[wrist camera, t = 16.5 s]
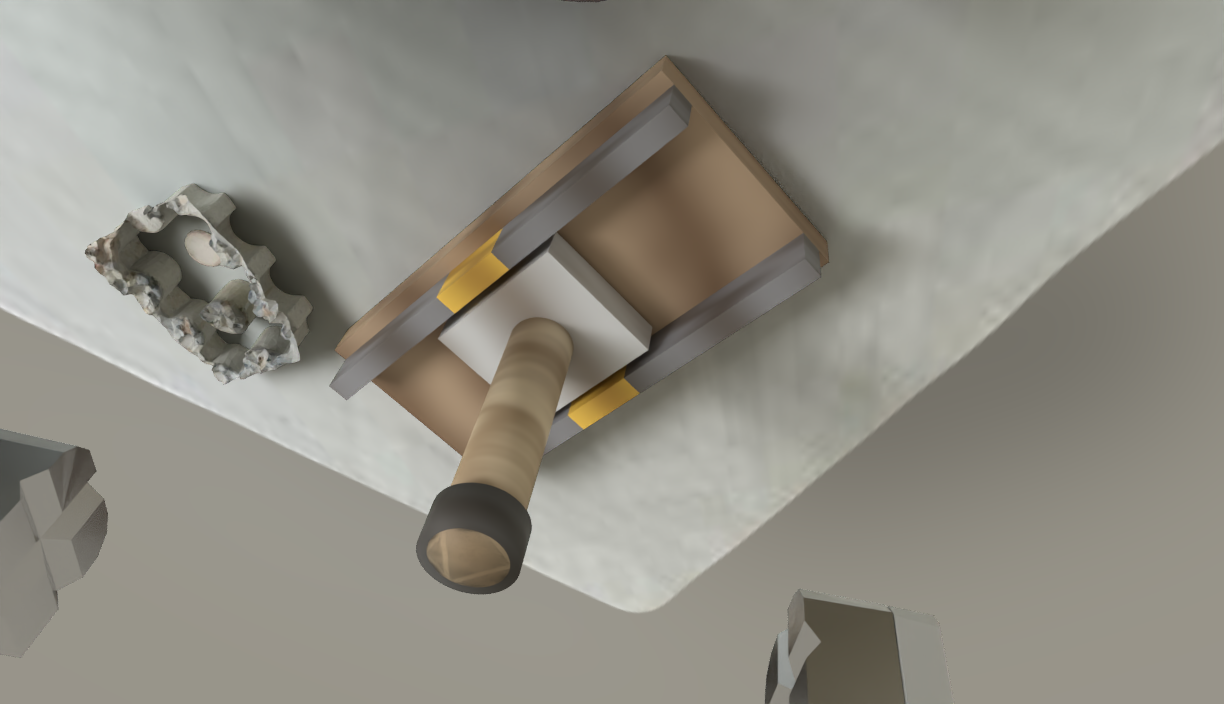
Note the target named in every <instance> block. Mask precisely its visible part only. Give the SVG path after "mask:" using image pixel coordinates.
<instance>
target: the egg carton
mask: <svg viewBox="0 0 1224 704" xmlns="http://www.w3.org/2000/svg"><path fill="white" fill-rule="evenodd" d="M235 209H236V207H235V205H234V204H233V202H232V201H231V200H230V198H229V197H228V196H227V195H226V194H225V193H218V194H214V193H209V192H206V191H204V190H202V189H201V188H199V187H198V186H197V185H196V184H189V185H187V186H183V187H181V188H180V189H179V190H178V191H177V192H175V193H174V194H173V195H172V196H171V197H170V198H168V199H167V200H166V201H165V202H163V203H160V204H158V205H156V206H155V207H153V208H151V207H150V206H149V205H147V206H144V207H142V208H140V209H137V210H134V211H132V212H130V213H129V214H128V215H127V218H126V220H125V221H124V222H123V223H122V224H121V225H119V226H117V227H116V228H115V230H114V231H115V232H113V233H111V234H109V235H107V236H105V237H102V238H100V239H98V240H97V241H95V242H93V243H92V244H90V245H89V246H88V247H87V249H86V250H85V254H86V255H87V258H89V259H90V260H92V261H93V262H94V263H95V269H96V270H97V271H98V272H99V273H100V274H102V275H103V276H105V277H106V279H107V280H108V282H109V284H110V285H112V286H114V287H115V288H116V289H117V290H119V291H120V292H121V293H122V294H123V295H128V294H132V295H134V296H135V298H136V299H137V301H138V302H139V303H140V305H141V306H142V308H143V310H144V311H145V312H146V313H147V314H149V315H153V316H154V317H155V318H156V319H157V320H158V321H159V322H160V323H161V324H162V325H163V326H164V327H165V328H167V330H168V332H169V333H170V335H171V336H172V338H173V339H174V340H175V341H176V342H178V343H179V344H180V345H182V346H183V347H184V348H185V349H187V350H188V351H189V352H191V353H193V354H194V355H196V356H198V357H199V359H200V360H201V361H202V362H204V363H206V364H210V365H212V366H213V368H212V371H213V373H214V376H215V377H216V378H217V379H218V381H221V382H223V385H224V384H227V383H229V382H230V381H232V380H233V379H236V378H239V377H240V379H246V378H247V377H249V376H251V375H254V374H256V373H260V374H261V373H263V372H266V371H269V370H276V369H277V368H279V367H281V366H283V365H284V364H286V363H294V362H297V361H300V355H299V351H298V346H299V345H300V344H301V342H302V341H303V339H304V337H305V336H306V335H307V334H308V333H309V329H308V326H307V322H306V318H307V316H308V315H309V314H310V313H311V311H312V310H313V307H312V305H311V304H310V302H309V301H308V300H307V299H306V297H305V296H304V295H290V294H287V293H284V292H282V291H281V290H279V289H278V288H277V287H276V286H275V285H274V283H273V282H272V280H271V278H270V274H269V272H270V267H271V266H272V265H273V263H274V262H275V261H276V258H275V257H274V256H273V254H272V253H271V252H270V250H269V249H268V248H267V247H266V246H265V245H256V246H255V245H250V244H247V243H245V242H243V241H242V240H241V239H239V238H238V237H237V236H236V235H235V234H234V232H233V231H232V228H231V226H230V215H231V213H232V212H233V211H234V210H235ZM178 214H179V215H188V216H197V217H199V218H201V219H203V220H204V221H205V222H206V223H207V224H208V225H209V228H210V231H211V233H212V234H210V233H208V232H206V231H202V230H193V231H191V232H189V233H188V234H187V237H186V238H185V241H184V242H185V248H186V250H187V251H188V253H189V255H190V256H191V257H192V258H193V259H194V260H195V261H197V262H198V263H200V264H202V265H205V266H213V267H214V266H218V265H219V264H220V266H224V267H228V268H231V269H235V268H238V267H240V266H243V267H244V268H245V270H246V276H247V277H248V279H249V280H250V283H249V282H247V281H244V280H240V279H237V280H232V281H230V282H229V283H228V284H227V285H226V286H225V287H224V288H223V289H222V290H221V291H220V292H219V293H218V294H217V295H216V296H215V298H214V299H213V300H212V301H211V302H210V303H208V302H206V301H204V300H200V299H191V298H190V297H189V296H188V295H187V294H186V293H184V292H183V291H182V290H181V289H180V288H179V287H178V286H177V285H178V284H179V282H180V281H181V278H182V273H181V269H180V267H179V265H178V263H177V262H176V261H175V260H174V259H173V258H171V257H170V256H169V255H167V254H165V253H163V252H158V251H148V250H147V249H146V248H145V246H144V245H143V244H142V243H141V242H140V240H139V239H138V236H137V235H138V233H139V232H140V231H141V232H149V233H155V232H159V231H161V230H163V229H164V228H165V227H166V226H167V225H168V224H169V223H170V222H171V221H172V220H173V219H174V218H175V217H176V216H177V215H178ZM253 278H255V279H256V283H252V282H251V280H252V279H253ZM256 316H257V317H259V318H260V317H263V318H264V319H265V320H269V324H272V323H281V324H282V325H283V327H279V326H270V327H267V328H266V329H265V330H264V331H263V332H262V334H261V335H260V336H259V338H258V339H257V340H256V342H255V343H254V345H253V346H252V347H251V348H250V350H249V349H247V348H246V347H244V346H242V345H240V344H235V343H232V344H227V343H226V342H225V341H224V340H223V339H222V338H221V337H220V336H219V335H218V333H217V332H216V330H217V329H219V330H220V331H223V332H227V333H231V334H236V333H237V334H242V333H243V332H244V331H245V330H246V329H247V328H248V326H249V325H250V323H251V322H252V321H253V320H254V319H255V317H256Z"/></svg>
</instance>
